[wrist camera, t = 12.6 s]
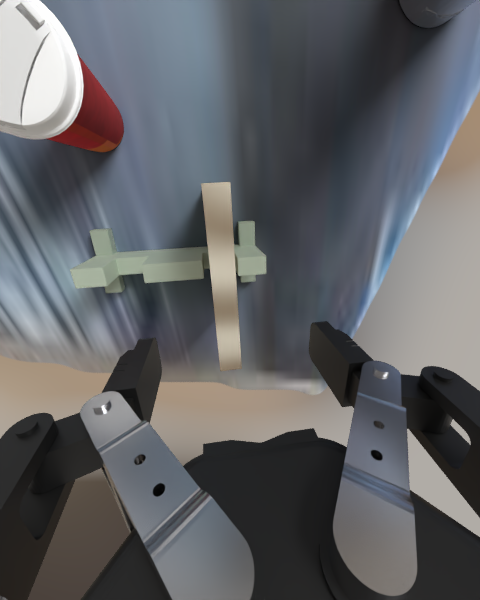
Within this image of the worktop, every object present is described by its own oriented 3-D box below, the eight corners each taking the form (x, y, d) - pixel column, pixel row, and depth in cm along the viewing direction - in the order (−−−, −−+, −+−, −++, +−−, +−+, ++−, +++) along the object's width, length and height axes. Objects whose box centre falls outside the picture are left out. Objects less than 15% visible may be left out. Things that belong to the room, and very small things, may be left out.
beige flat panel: (202, 189, 31) (201, 183, 17) (218, 188, 31) (230, 181, 17) (214, 306, 37) (220, 371, 23) (228, 305, 37) (241, 368, 24)
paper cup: (88, 58, 25) (-36, -89, 12) (149, 127, 28) (101, 67, 15) (41, 119, 26) (-115, 44, 13) (104, 179, 29) (24, 164, 16)
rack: (94, 229, 31) (60, 239, 24) (252, 220, 33) (266, 227, 26) (110, 289, 34) (84, 314, 27) (253, 278, 36) (266, 298, 29)
